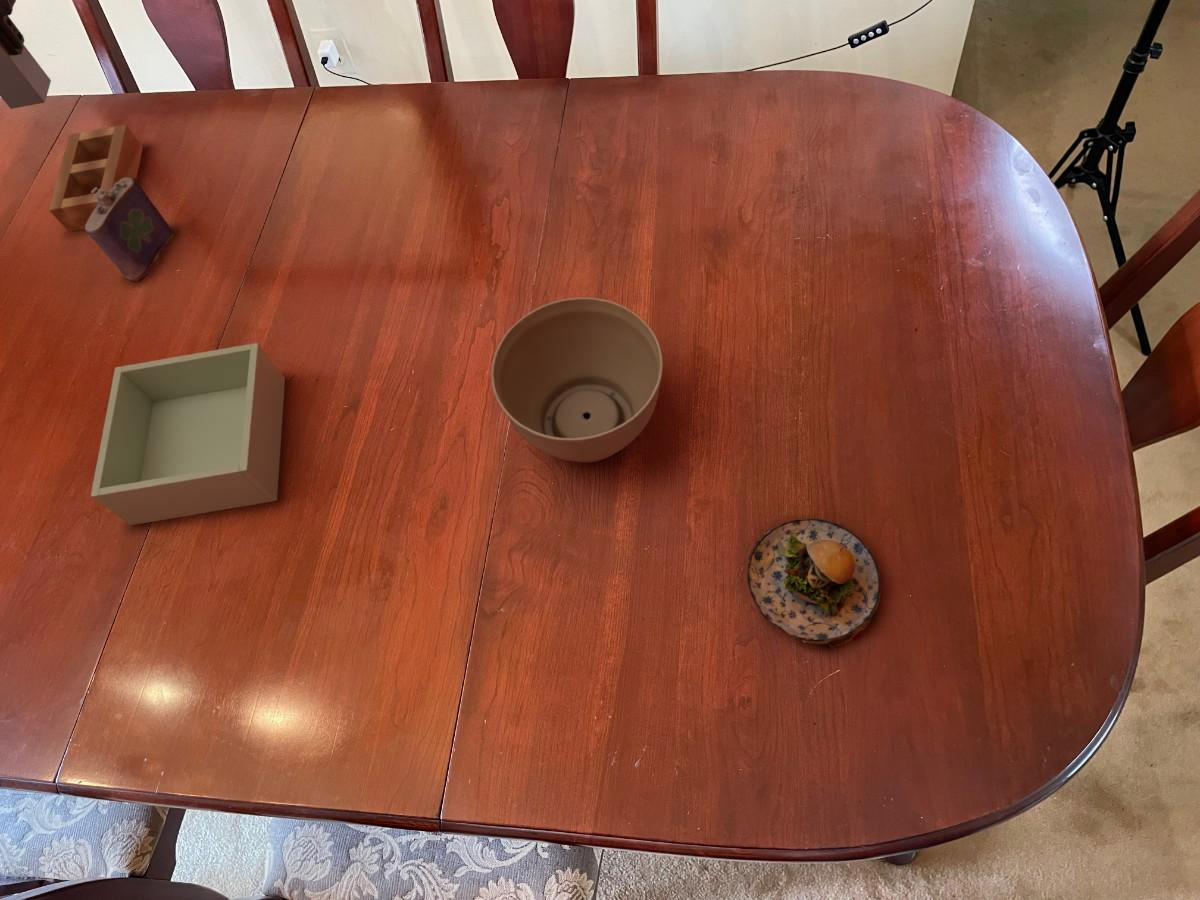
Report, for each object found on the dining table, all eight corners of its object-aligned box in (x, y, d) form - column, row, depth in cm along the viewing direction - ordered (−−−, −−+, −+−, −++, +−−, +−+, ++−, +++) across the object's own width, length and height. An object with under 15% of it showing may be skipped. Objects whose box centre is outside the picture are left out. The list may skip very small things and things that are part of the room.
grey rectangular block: (10, 109, 96) (-58, 27, 87) (17, 86, 98) (-49, 5, 89) (45, 102, 96) (-20, 20, 87) (51, 80, 98) (-12, -2, 89)
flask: (140, 284, 105) (85, 221, 96) (121, 280, 106) (65, 217, 97) (178, 230, 109) (130, 164, 100) (159, 226, 110) (109, 161, 101)
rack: (68, 232, 111) (48, 209, 108) (87, 157, 119) (69, 134, 115) (128, 221, 111) (109, 199, 108) (143, 147, 118) (126, 123, 115)
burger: (737, 532, 81) (740, 497, 74) (862, 518, 80) (876, 481, 74) (758, 655, 75) (763, 629, 68) (893, 642, 74) (911, 614, 68)
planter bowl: (550, 520, 83) (530, 468, 74) (490, 399, 91) (466, 338, 82) (694, 451, 85) (693, 392, 76) (624, 339, 93) (615, 273, 84)
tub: (130, 525, 88) (90, 496, 82) (150, 401, 96) (114, 367, 90) (277, 500, 88) (246, 470, 82) (285, 378, 96) (258, 342, 90)
